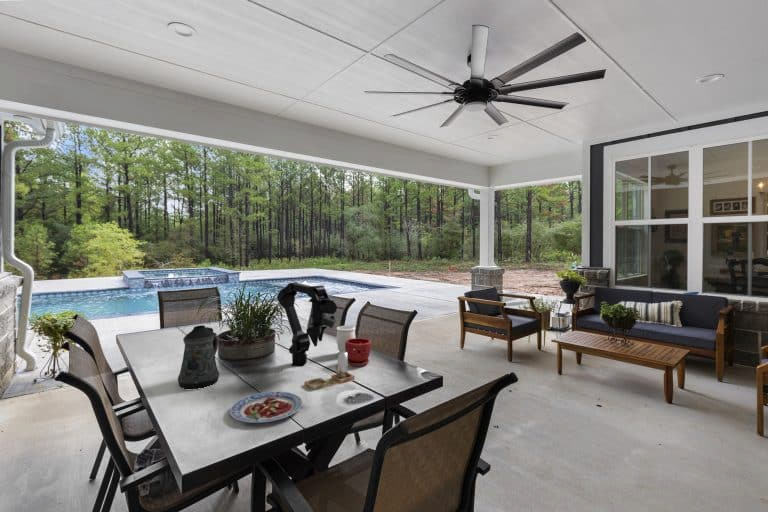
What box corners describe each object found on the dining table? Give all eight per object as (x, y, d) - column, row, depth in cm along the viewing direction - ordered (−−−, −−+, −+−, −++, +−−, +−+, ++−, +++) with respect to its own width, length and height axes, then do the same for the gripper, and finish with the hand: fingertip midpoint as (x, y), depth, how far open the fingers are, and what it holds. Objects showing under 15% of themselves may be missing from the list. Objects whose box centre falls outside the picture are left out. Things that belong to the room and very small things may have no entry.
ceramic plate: (277, 391, 159) (277, 384, 158) (316, 409, 142) (316, 401, 142) (216, 412, 139) (216, 404, 139) (254, 436, 122) (254, 427, 122)
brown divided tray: (310, 392, 156) (310, 387, 156) (302, 386, 163) (302, 381, 163) (356, 381, 169) (356, 376, 169) (346, 375, 176) (346, 371, 176)
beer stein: (173, 392, 157) (171, 332, 156) (184, 376, 176) (183, 322, 175) (216, 388, 161) (215, 330, 160) (222, 372, 180) (221, 320, 179)
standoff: (338, 381, 167) (338, 354, 167) (336, 378, 171) (336, 351, 171) (348, 380, 169) (348, 353, 168) (346, 376, 173) (346, 351, 172)
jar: (354, 357, 203) (354, 329, 203) (335, 357, 204) (335, 329, 203) (356, 351, 214) (356, 325, 213) (338, 351, 214) (338, 325, 213)
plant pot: (367, 368, 185) (367, 344, 185) (342, 367, 188) (341, 343, 187) (373, 360, 198) (373, 337, 198) (349, 358, 201) (349, 336, 200)
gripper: (329, 315, 172) (330, 349, 173) (338, 308, 191) (338, 338, 192) (306, 315, 173) (306, 349, 174) (316, 308, 192) (316, 338, 193)
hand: (318, 343), depth 183 cm, fingers open, 9 cm apart
